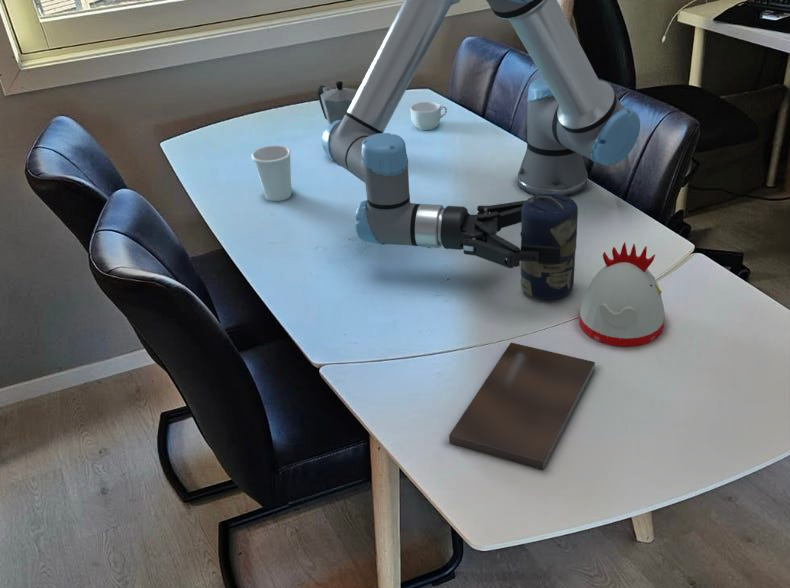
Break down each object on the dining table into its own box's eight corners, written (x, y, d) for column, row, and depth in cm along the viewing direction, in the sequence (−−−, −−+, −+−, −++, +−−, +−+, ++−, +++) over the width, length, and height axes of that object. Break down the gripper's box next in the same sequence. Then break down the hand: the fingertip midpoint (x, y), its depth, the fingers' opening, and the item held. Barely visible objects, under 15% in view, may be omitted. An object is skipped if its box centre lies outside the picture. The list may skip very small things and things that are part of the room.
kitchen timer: (655, 353, 133) (667, 272, 124) (571, 338, 137) (576, 259, 129) (668, 307, 144) (679, 229, 135) (589, 294, 148) (595, 218, 139)
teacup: (420, 135, 210) (418, 114, 207) (406, 125, 216) (404, 105, 212) (454, 126, 214) (453, 106, 211) (440, 117, 219) (439, 97, 216)
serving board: (510, 349, 136) (510, 342, 135) (594, 369, 131) (595, 361, 130) (449, 443, 118) (448, 435, 117) (543, 469, 113) (543, 461, 112)
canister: (538, 309, 145) (541, 215, 134) (510, 284, 152) (510, 193, 141) (584, 293, 148) (590, 201, 138) (554, 270, 155) (558, 180, 144)
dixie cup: (293, 184, 189) (287, 142, 183) (300, 199, 183) (293, 156, 177) (256, 190, 187) (248, 148, 181) (262, 206, 181) (254, 163, 175)
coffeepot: (380, 156, 200) (373, 82, 189) (349, 169, 195) (340, 93, 184) (340, 140, 209) (331, 68, 199) (309, 152, 204) (299, 78, 193)
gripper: (459, 213, 159) (570, 221, 155) (428, 282, 140) (555, 292, 135) (457, 177, 155) (572, 184, 151) (425, 242, 135) (557, 252, 131)
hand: (564, 235), depth 143 cm, fingers open, 13 cm apart
